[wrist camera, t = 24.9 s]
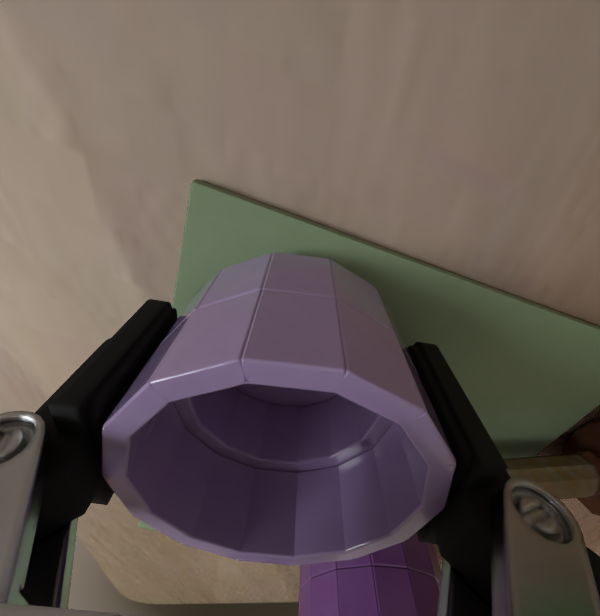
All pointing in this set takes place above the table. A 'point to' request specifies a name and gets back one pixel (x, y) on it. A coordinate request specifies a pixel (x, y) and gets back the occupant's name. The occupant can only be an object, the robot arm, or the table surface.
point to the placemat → (421, 316)
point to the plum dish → (374, 583)
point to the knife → (567, 468)
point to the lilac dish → (280, 421)
